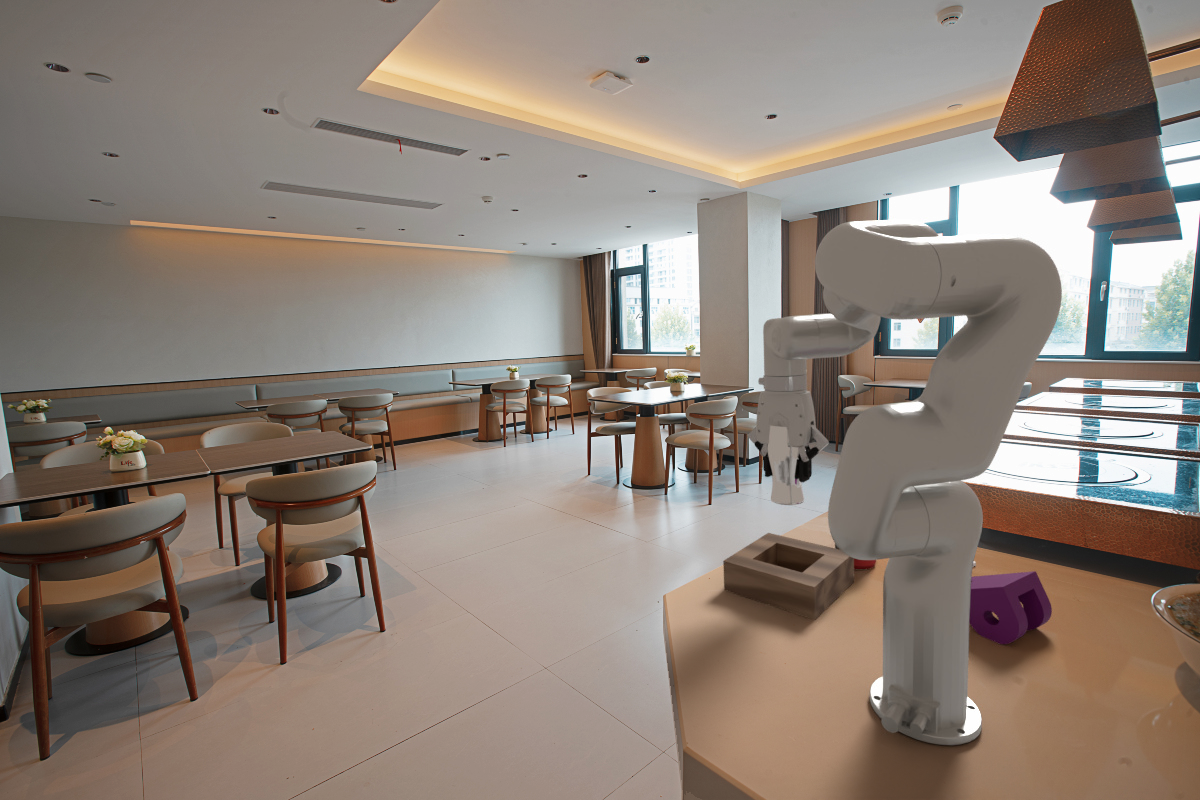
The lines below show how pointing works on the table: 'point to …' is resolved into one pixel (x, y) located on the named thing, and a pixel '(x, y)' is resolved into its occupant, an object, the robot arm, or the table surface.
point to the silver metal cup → (784, 468)
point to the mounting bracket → (1008, 605)
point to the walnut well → (789, 574)
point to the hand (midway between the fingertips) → (787, 477)
